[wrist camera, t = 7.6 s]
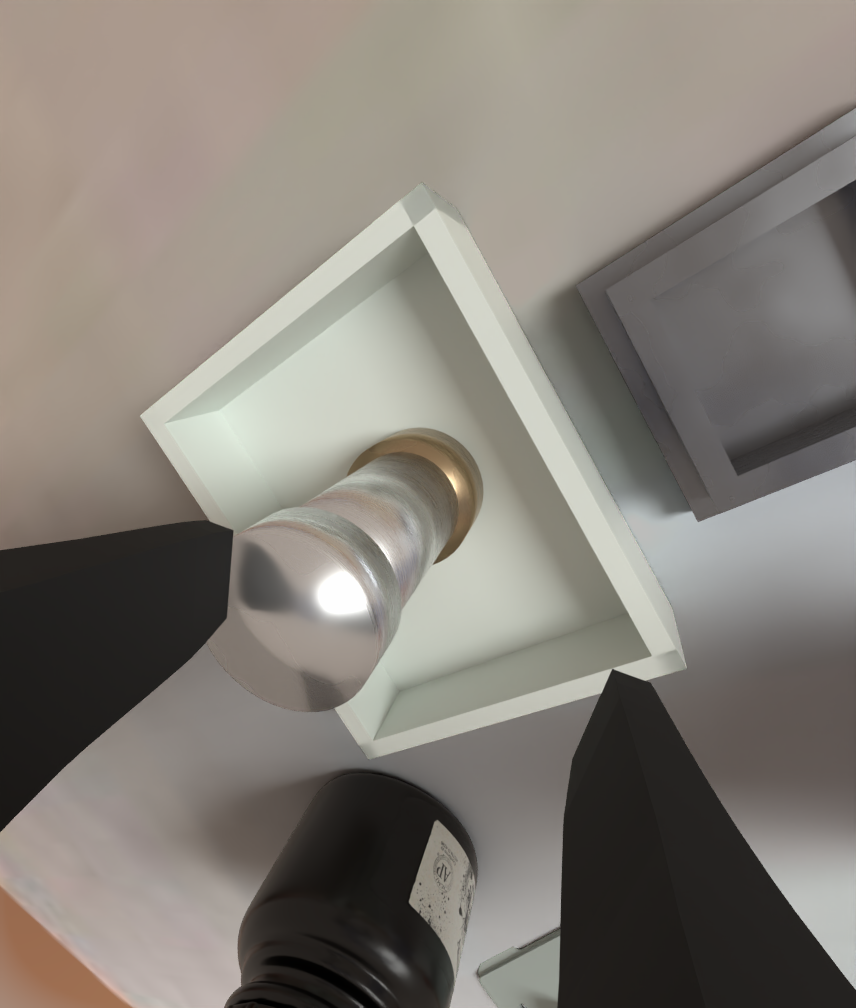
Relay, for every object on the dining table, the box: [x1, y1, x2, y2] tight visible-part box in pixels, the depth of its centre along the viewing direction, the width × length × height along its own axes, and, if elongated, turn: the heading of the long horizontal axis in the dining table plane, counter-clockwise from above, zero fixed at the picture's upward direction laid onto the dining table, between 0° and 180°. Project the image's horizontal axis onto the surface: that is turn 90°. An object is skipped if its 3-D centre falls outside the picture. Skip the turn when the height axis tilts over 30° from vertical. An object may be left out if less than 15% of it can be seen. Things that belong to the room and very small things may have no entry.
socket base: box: [576, 108, 856, 522], centre depth 14 cm, size 8×8×2 cm
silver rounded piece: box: [206, 428, 483, 712], centre depth 15 cm, size 4×4×10 cm
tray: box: [140, 182, 687, 760], centre depth 18 cm, size 15×12×4 cm
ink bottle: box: [224, 773, 478, 1008], centre depth 21 cm, size 10×9×12 cm
